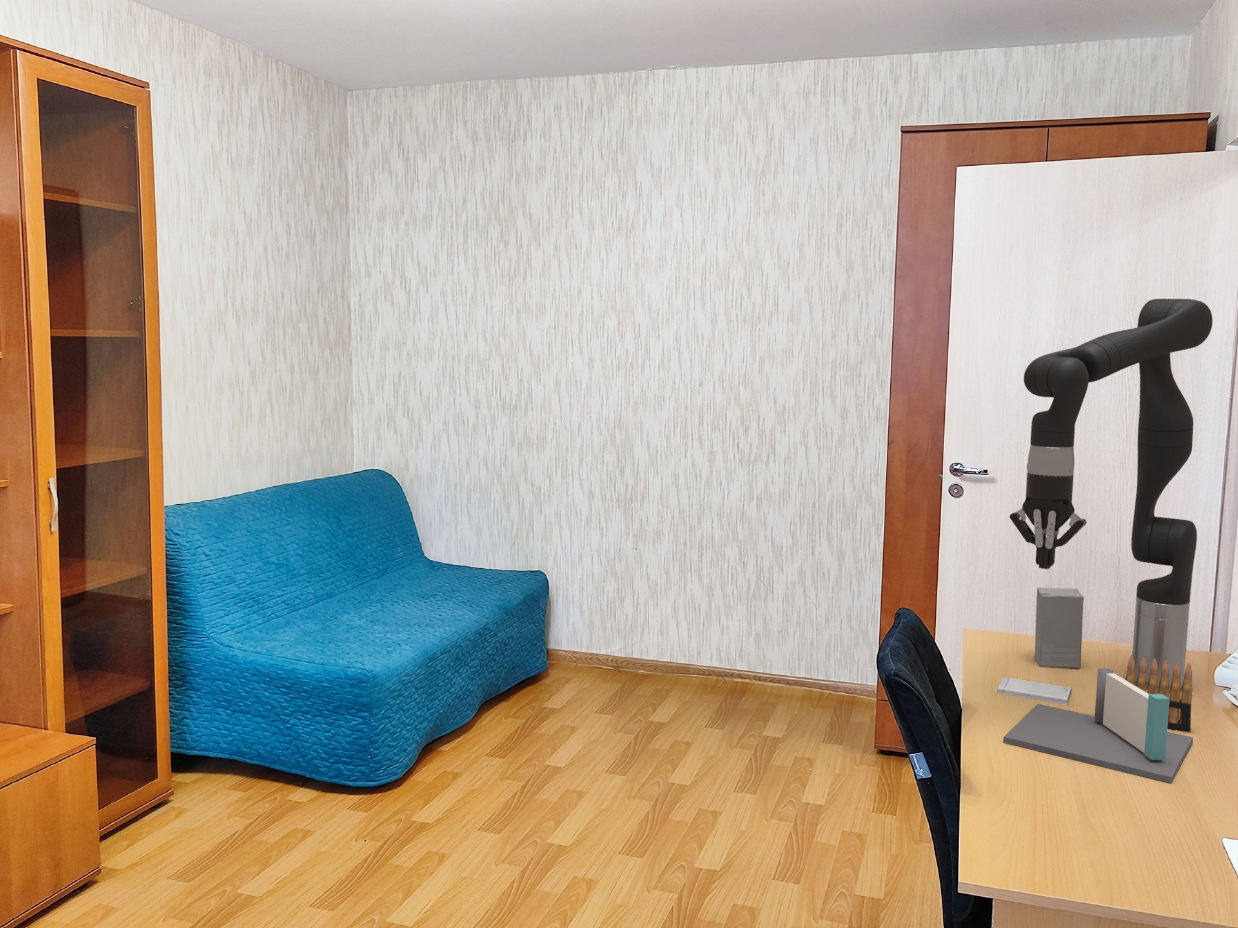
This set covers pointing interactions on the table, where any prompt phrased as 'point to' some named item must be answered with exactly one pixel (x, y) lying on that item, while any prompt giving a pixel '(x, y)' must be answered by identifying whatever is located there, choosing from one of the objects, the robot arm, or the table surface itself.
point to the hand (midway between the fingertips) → (1044, 567)
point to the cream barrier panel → (1132, 713)
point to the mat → (1094, 743)
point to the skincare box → (1058, 627)
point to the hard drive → (1034, 690)
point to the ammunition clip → (1167, 690)
